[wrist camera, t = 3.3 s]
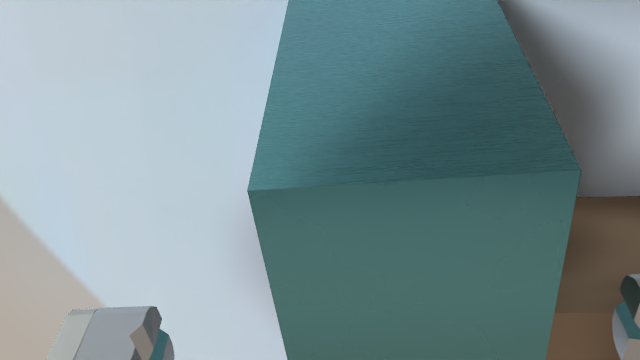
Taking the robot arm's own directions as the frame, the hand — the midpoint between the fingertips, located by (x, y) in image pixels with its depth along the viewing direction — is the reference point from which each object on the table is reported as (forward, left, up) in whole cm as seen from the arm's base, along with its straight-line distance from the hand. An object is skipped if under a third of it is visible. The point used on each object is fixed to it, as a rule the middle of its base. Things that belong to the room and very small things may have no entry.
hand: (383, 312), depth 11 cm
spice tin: (-1, 0, -8) cm, 8 cm away
